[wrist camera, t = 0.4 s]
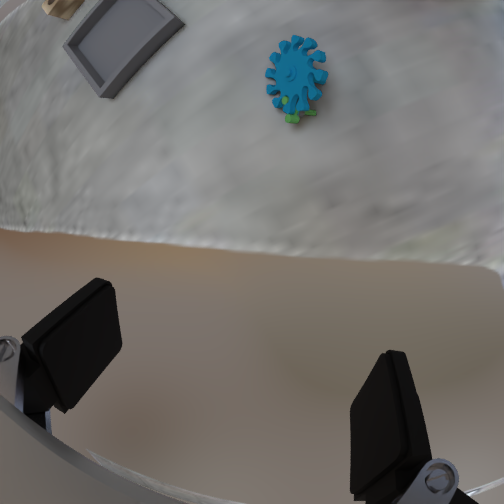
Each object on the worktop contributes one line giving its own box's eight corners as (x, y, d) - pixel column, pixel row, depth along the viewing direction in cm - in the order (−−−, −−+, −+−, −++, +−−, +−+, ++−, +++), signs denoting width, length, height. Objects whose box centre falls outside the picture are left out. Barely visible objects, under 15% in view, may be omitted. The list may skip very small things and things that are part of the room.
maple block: (76, -8, 28) (56, -15, 23) (84, 0, 29) (63, -7, 24) (61, 11, 30) (40, 5, 25) (68, 20, 31) (47, 14, 26)
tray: (135, -18, 27) (124, -25, 24) (185, 24, 30) (174, 16, 27) (75, 48, 34) (62, 46, 30) (113, 98, 36) (99, 97, 33)
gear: (265, 37, 28) (323, 31, 21) (301, 46, 31) (359, 46, 24) (256, 116, 34) (310, 129, 27) (291, 118, 37) (346, 133, 30)
